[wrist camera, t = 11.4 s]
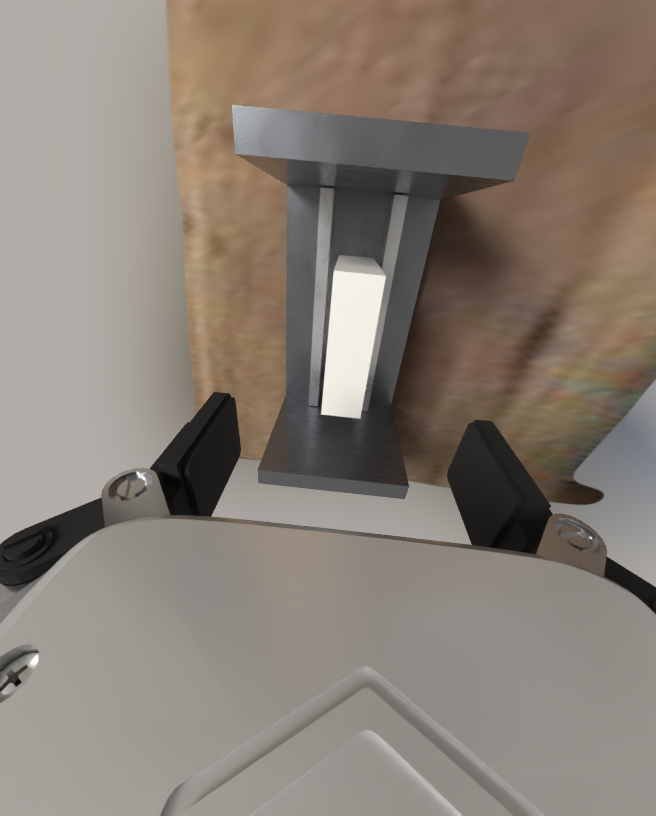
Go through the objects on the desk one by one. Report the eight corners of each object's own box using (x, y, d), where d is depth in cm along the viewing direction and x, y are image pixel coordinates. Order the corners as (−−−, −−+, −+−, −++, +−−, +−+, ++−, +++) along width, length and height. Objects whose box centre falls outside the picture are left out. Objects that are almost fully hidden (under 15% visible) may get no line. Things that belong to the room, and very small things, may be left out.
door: (339, 254, 25) (333, 270, 16) (373, 258, 25) (385, 276, 16) (329, 361, 30) (321, 414, 22) (357, 364, 30) (360, 418, 22)
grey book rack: (289, 162, 22) (231, 104, 12) (442, 176, 22) (530, 132, 11) (287, 400, 34) (258, 483, 24) (387, 411, 34) (404, 499, 23)
